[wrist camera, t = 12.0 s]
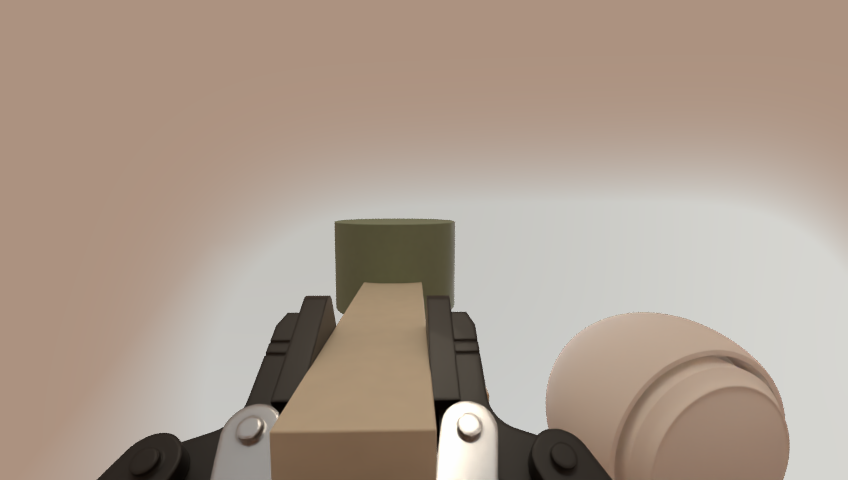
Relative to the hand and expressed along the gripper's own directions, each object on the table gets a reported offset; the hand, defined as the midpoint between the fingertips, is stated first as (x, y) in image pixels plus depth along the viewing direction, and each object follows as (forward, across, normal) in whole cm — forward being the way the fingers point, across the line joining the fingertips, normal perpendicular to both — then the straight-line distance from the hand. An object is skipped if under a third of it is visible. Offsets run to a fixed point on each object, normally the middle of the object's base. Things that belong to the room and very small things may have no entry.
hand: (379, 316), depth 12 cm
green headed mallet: (+3, 0, +4) cm, 5 cm away
